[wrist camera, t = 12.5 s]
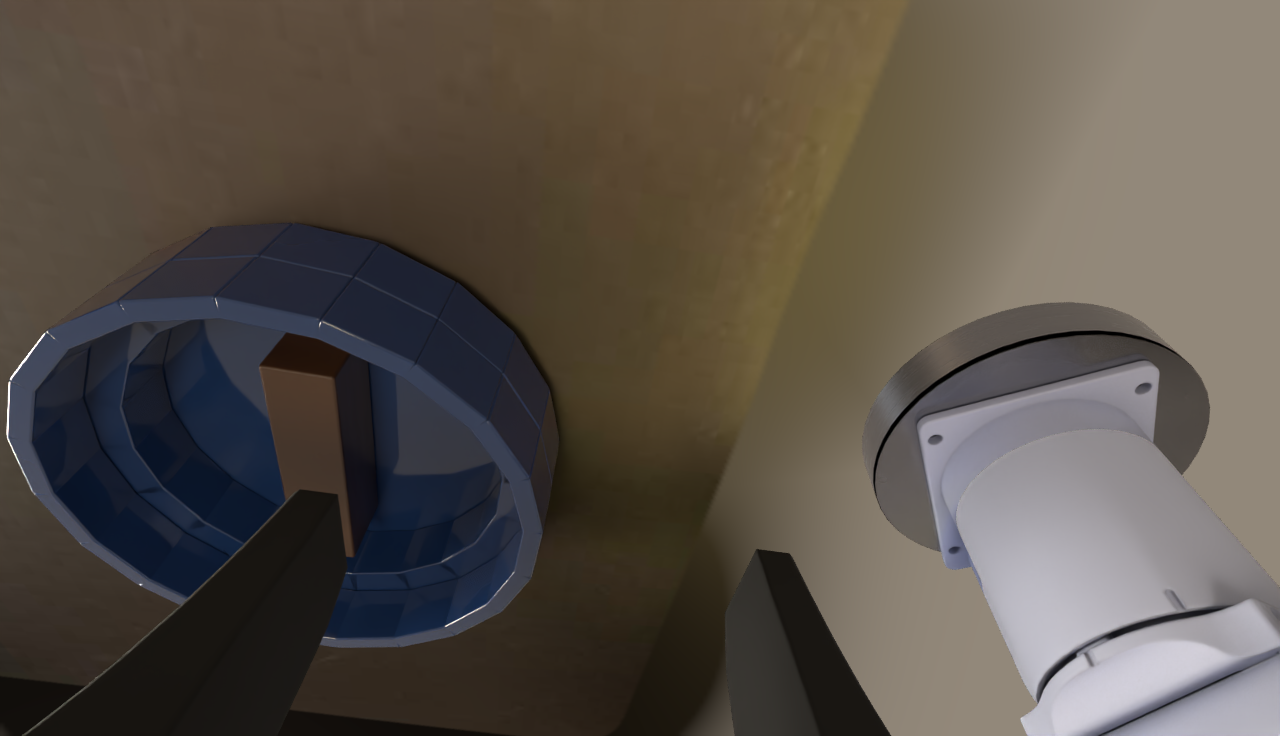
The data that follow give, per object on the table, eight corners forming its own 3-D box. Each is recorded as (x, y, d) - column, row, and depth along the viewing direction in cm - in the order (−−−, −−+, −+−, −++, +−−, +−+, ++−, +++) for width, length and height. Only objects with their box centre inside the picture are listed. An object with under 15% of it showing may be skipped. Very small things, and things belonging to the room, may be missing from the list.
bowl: (623, 495, 24) (617, 601, 21) (317, 572, 28) (266, 676, 24) (407, 136, 16) (335, 208, 13) (18, 307, 20) (-124, 402, 16)
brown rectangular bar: (379, 505, 24) (354, 559, 22) (323, 496, 24) (293, 550, 22) (366, 328, 19) (334, 378, 17) (297, 316, 19) (256, 365, 17)
